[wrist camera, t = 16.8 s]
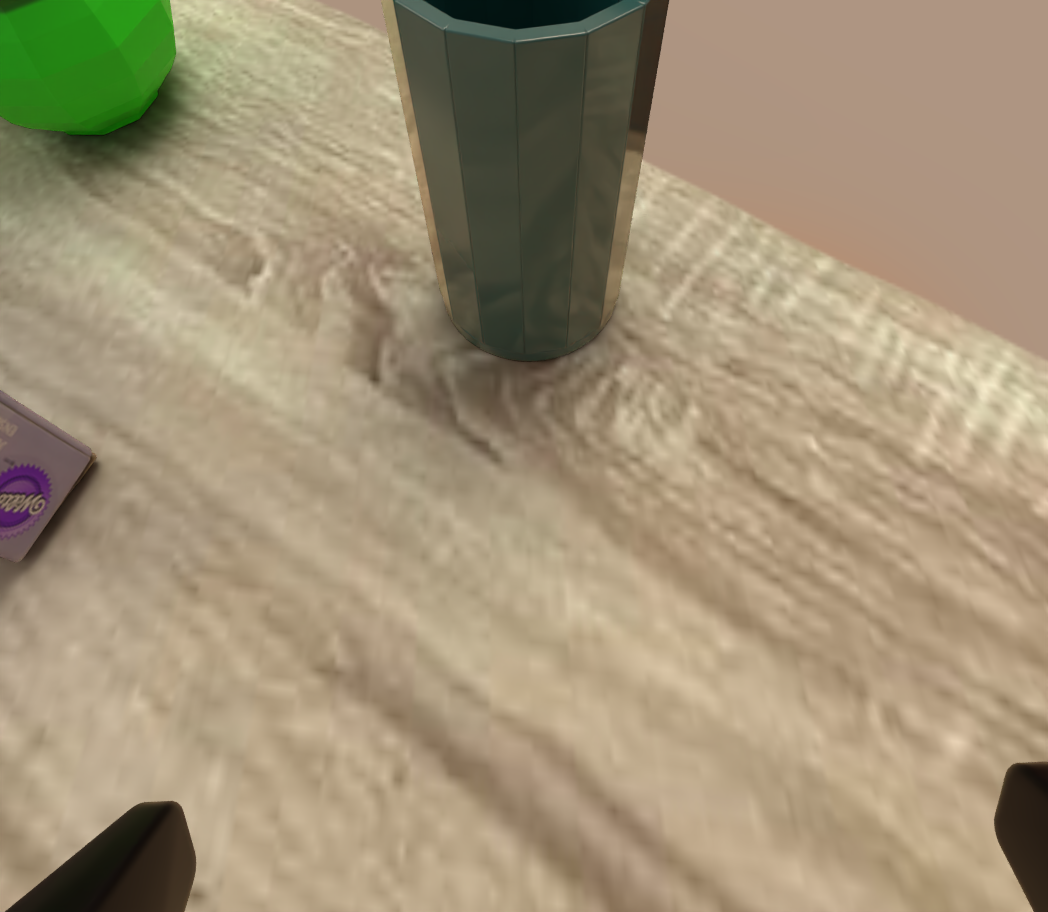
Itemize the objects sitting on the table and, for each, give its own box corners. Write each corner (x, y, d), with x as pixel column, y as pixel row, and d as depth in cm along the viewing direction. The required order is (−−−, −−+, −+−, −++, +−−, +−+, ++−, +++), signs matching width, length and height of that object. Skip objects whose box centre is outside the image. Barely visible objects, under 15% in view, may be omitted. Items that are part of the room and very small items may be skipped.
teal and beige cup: (480, 388, 25) (433, 77, 14) (419, 250, 28) (339, -104, 17) (647, 327, 26) (731, -9, 15) (573, 199, 29) (596, -168, 18)
